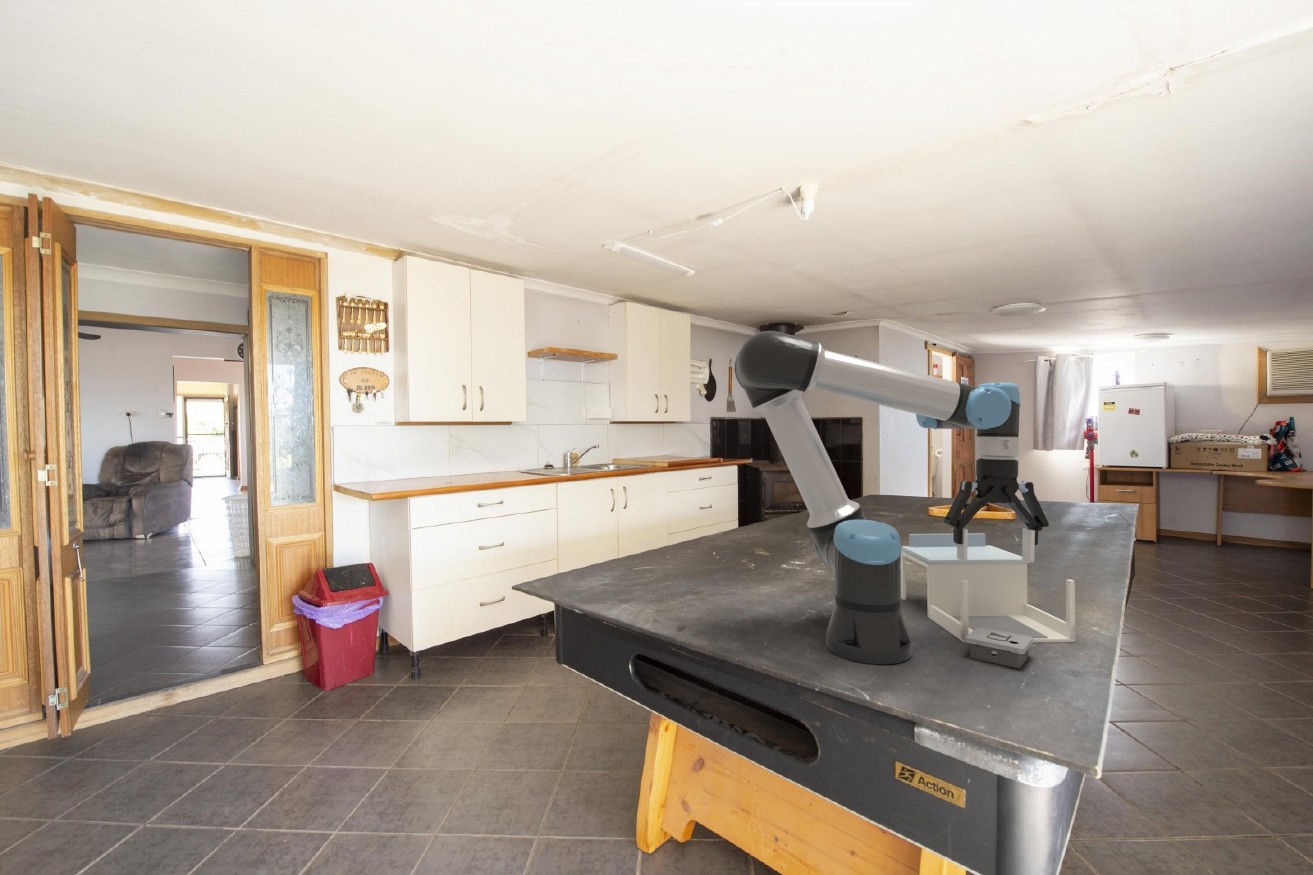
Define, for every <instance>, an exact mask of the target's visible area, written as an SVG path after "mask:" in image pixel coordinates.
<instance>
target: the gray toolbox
mask: <svg viewBox="0 0 1313 875" xmlns="http://www.w3.org/2000/svg"><path fill="white" fill-rule="evenodd" d="M964 643H966V644H969V652H970V653H969V654H970V655H969V657H970V658H971V659H974V660H977V661H983V662H987V663H990V664H991V663H993V664H997V665H1001V666H1005V667H1011V668H1014V669H1021V667H1022V666H1023V665H1024V664H1025V663H1026V662H1027V660H1028V659H1029V648H1030V647H1031V646H1032V645H1033V644H1034V643H1035V642H1034V641H1033V638H1032V637H1029V636H1025V635H1019V634H1014V633H1009V632H1004V631H998V630H993V629H987V628H981V627H977V628H976V629H975V630H973V631H972V632H971V633H970V634H968V635H967V636H966V637H965V642H964Z"/></svg>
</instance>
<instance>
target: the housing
mask: <svg viewBox="0 0 1313 875" xmlns="http://www.w3.org/2000/svg"><path fill="white" fill-rule="evenodd" d="M907 559H909V560H911V561H913V562H915V563H916V564H918V565H920V566H923V567H925V568H926V570H927V571H926V572H927V573H926V578H927V579H926V580H927V582H926V583H927V584H926V586H927V588H926V589H927V600H926V601H927V606H926V607H927V618H929V619H930V620H931V621H932V622H934V623H936V624H938V625H939V626H940V627H942V628H943V629H944V630H946V631H947V632H949V633H950V634H952V635H953V636H955V638H957V639H959V640H960V641H962V642H963V643H966V642H965V637H966V636H967V635H968V634H970V633H971V632H972V631H973V630H975V629H976V628H977V627H981V628H987V629H993V630H998V631H1004V632H1009V633H1014V634H1019V635H1025V636H1029V637H1032V638H1033V641H1034V643H1075V642H1076V589H1075V588H1076V585H1075V584H1076V583H1075V580H1074V579H1065V621H1064V620H1063V619H1060V618H1059V617H1057V616H1054V615H1052V614H1050V613H1048V612H1046V611H1044V610H1042V609H1039V608H1037V607H1035V606H1033V605H1032V604H1028V563H981V564H930V563H928V562H926V561H924V560H922V559H920V558H918V557H916V556H914V555H912V554H910V553H908V552H906V551H904V550H902V551H901V600H906V599H907V566H906V565H907V562H906V560H907Z"/></svg>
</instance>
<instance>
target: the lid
mask: <svg viewBox="0 0 1313 875" xmlns="http://www.w3.org/2000/svg"><path fill="white" fill-rule="evenodd" d="M986 537H987V536H986V533H984V532H981V533H980V532H975V533H974V532H973V533H972V532H971V533H969V532H968V550H967V561H962V560H960V559H957V544H956V543H954V541H953V533H909V534H908V546H907V545H901V548H902V550H904V551H906V552H908V553H910V554H912V555H914V556H916V557H918V558H920V559H922V560H924V561H926V562H928V563H930V564H981V563H1027V564H1030V563H1031V562H1029V561H1026V560H1023V559H1022V555H1019V554H1015V553H1013V552H1009V551H1007V550H1004V549H1002V548H1000V547H996V546H994V545H986V543H987V542H986Z"/></svg>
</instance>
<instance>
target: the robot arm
mask: <svg viewBox="0 0 1313 875" xmlns="http://www.w3.org/2000/svg"><path fill="white" fill-rule="evenodd" d="M734 374H735V379H736V381H737V383H738V384H739V386H740V387H741V388H742V389H743V390H744V392H745V393H746V394H745V395H746V396H747V398H748V400H749V404H750V405H751V407H752V409H753V410H754V411H756V412H759V413H762V414H763V417H764V418H765V421H766V423H767V425H768V427H769V428H770V431H771V433H772V435H773V437H774V440H775V441H776V443H777V447H778V448H779V451H780V453H781V455H782V456H783V459H784V462H785V463H786V466H787V467H788V470H789V472H790V475H791V477H792V478H793V481H794V482H795V484H796V487H797V490H798V491H799V494H800V496H801V498H802V500H803V502H804V504H805V507H806V509H807V510H808V513H809V517H808V521H807V523H806V526H807V528H808V529H809V532H810V534H811V537H812V538H813V542H814V548H815V551H816V554H817V556H818V557H819V558H820V561H822V563H823V564H824V565H826V566H827V567H828V568H830V570H831V571H832V572H833V573H834V607H833V610H832V613H831V617H830V619H829V622H828V625H827V628H826V631H825V647H826V648H827V649H828V651H829V652H831V653H832V654H834V655H836V656H838V657H840V658H843V659H845V660H849V661H851V662H855V663H862V664H868V665H869V664H870V665H894V664H899V663H903V662H906V661H907V660H909V659H911V657H912V653H913V652H912V640H911V638H910V634H909V631H908V628H907V626H906V622H905V620H904V617H903V614H902V606H901V605H902V603H901V600H902V598H901V551H902V543H901V538H900V533H899V532H898V531H897V529H896V528H895V527H893V525H890V524H888V523H885V522H879V521H877V520H870V519H867V518H866V516H865V514H864V512H863V509H862V508H861V505H860V503H858V502H856V501H853V500H850V499H849V498H848V494H846V490H845V489H844V486H843V484H842V482H841V480H840V478H839V476H838V473H837V471H836V469H835V467H834V465H833V462H832V461H831V458H830V456H829V454H828V452H827V449H826V448H825V446H824V444H823V441H822V440H821V437H820V435H819V433H818V430H817V428H816V426H815V425H814V422H813V420H812V418H811V416H810V413H809V411H808V409H807V407H806V405H805V403H804V401H803V399H802V393H803V392H804V393H807V392H808V391H811V390H817V391H820V392H825V393H828V394H833V395H838V396H842V397H846V398H850V399H854V400H858V401H862V402H866V403H870V404H873V405H878V406H883V407H887V408H891V409H895V410H899V411H903V412H907V413H911V414H915V417H916V421H917V423H918V426H920V427H921V428H924V429H933V430H938V429H940V430H946V429H947V430H962V429H963V430H964V429H965V430H967V429H968V430H976V449H975V450H976V451H975V452H976V453H975V455H976V456H978V457H979V458H977V459H976V460H975V475H976V480H975V482H973V481H971V480H970V481H968V480H963V479H962V480H961V481H960V484H959V491H958V492H957V495H956V496H955V498H954V500H953V502H952V504H951V506H950V508H949V510H948V512H946V513H947V514H946V516H945V517H944V519H943V522H944V524H945V525H949V526H951V527H952V528H953V533H952V534H953V541H954V543H956V544H957V559H960V560H962V561H967V550H968V533H969V529H967V528H965V527H966V526H967V525H968V524H969V522H970V521H971V520H972V519H973V518H974V517H975V516H976V514H977V513H978V512H979V511H980V510H981V509H982V507H984V506H985V505H987V504H988V503H989V504H997V503H999V504H1007V505H1009V507H1010V508H1011V509H1012V511H1013V512H1014V513H1015V514H1016V515H1017V516H1018V517H1019V519H1020V520H1021V522H1022V523H1023V524H1024V525H1025V526H1026V527H1025V528H1022V545H1021V546H1022V551H1021V556H1022V559H1023V560H1026V561H1029V562H1030V563H1035V546H1038V543H1039V532H1041V531H1042V530H1043V528H1047V527H1049V521H1048V519H1047V517H1046V514H1045V513H1044V512H1045V511H1044V510H1043V509H1042V506H1041V504H1040V502H1039V500H1038V498H1037V496H1036V494H1035V488H1034V483H1033V482H1031V481H1025V480H1021V481H1020V482H1018V477H1019V461H1018V459H1016V458H1017V457H1018V456H1019V444H1020V443H1019V442H1020V440H1019V437H1020V435H1019V433H1020V410H1021V408H1020V407H1021V398H1020V387H1019V385H1017V384H1015V383H1013V382H989V383H987V382H985V383H981V384H979V385H978V386H974V385H970V384H965V383H961V382H956V381H953V380H949V379H946V378H942V377H938V376H932V375H929V374H926V373H921V372H916V371H912V370H909V369H905V368H901V367H896V366H893V365H889V364H885V363H884V364H883V363H879V362H876V361H871V360H868V359H864V358H859V357H856V356H851V355H849V354H842V353H839V352H835V351H830V350H826V349H824V347H823V346H822V344H821V343H820V342H817V341H813V340H811V339H810V340H809V339H806V338H802V337H799V336H795V335H792V334H789V333H785V332H780V331H775V330H765V331H761V332H757V333H755V334H753V335H751V336H750V337H749V338H748V339H747V340H746V341H745V342H744V343H743V345H742V346H741V349H740V350H739V352H738V353H737V354H736V358H735V362H734ZM975 490H976V492H977V493H976V494H975V495H974V496H973V498H972V500H971V501H970V503H969V504H967V503H968V500H969V498H970V497H971V495H972V492H974V491H975ZM1018 491H1019V492H1020V493H1021V496H1022V499H1023V500H1024V502H1025V504H1026V506H1027V509H1028V510H1027V509H1026V507H1025V506H1024V505H1023V504H1022V502H1021V500H1020V498H1019V497H1018V496H1017V495H1016V493H1017V492H1018ZM966 504H967V506H966ZM965 506H966V507H965Z"/></svg>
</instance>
